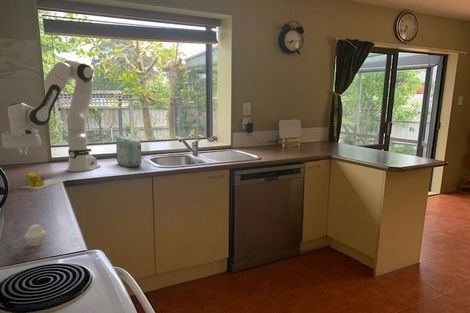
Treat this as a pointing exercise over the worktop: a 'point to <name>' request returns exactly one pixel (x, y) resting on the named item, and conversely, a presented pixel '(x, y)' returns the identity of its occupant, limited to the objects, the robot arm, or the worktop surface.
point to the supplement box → (35, 179)
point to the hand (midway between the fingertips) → (23, 154)
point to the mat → (46, 183)
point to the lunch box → (128, 151)
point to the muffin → (35, 235)
